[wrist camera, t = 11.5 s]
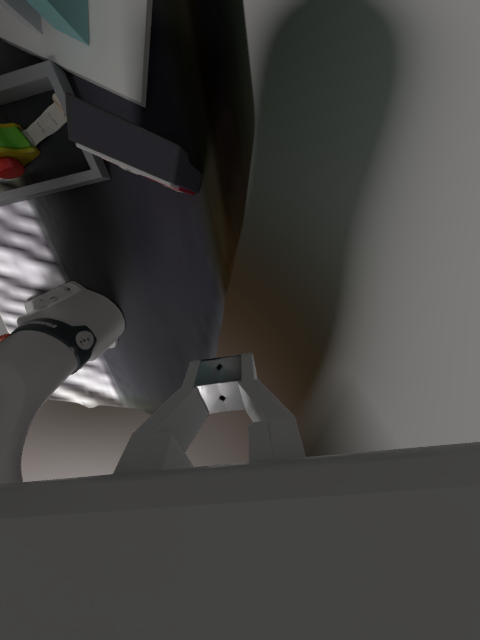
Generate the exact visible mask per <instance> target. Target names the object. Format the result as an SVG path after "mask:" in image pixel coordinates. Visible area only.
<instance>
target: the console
mask: <svg viewBox="0 0 480 640" xmlns="http://www.w3.org/2000/svg"><path fill="white" fill-rule="evenodd" d="M87 4H88V32H89V46H88V45H86V44H84V43H82V42H80V41H78V40H76V39H74V38H72V37H70V36H68V35H66V34H64V33H62V32H60V31H58V30H56V29H55V28H54V27H52V26H51V25H50V24H49V23H48V22H47V21H46V20H45V19H44V18H43V17H42V16H41V15H40V14H39V13H38V12H37V11H36V10H35V9H34V8H33V7H32V6H31V5H30V4H29V3H28V2H27V1H26V0H0V38H1V39H2V40H4V41H5V42H7V43H8V44H10V45H12V46H14V47H16V48H19V49H21V50H23V51H25V52H27V53H29V54H31V55H34V56H36V57H38V58H40V59H42V60H44V61H47V60H50V61H51V62H53V63H54V64H55V65H57V66H58V67H59V68H61V69H63V70H66V71H68V72H70V73H72V74H74V75H76V76H78V77H80V78H83V79H85V80H87V81H89V82H91V83H93V84H95V85H98V86H100V87H102V88H104V89H106V90H108V91H110V92H112V93H115V94H117V95H119V96H121V97H123V98H125V99H127V100H129V101H132V102H134V103H136V104H138V105H140V106H142V107H144V108H146V94H147V79H148V64H149V49H150V34H151V19H152V4H153V0H87Z"/></svg>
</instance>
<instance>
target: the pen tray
mask: <svg viewBox="0 0 480 640" xmlns="http://www.w3.org/2000/svg"><path fill="white" fill-rule="evenodd" d="M53 89H54V91H55V93H56V95H57V97H58V100H59V102H60V104H61V106H62V108H63V110H64V112H65V115H66V117H67V114H66V100H65V93H66V92H67V93H69V94H72V95H74V96H75V94H74V92H73V90H72V87H71V85H70V83H69V80H68V78H67V76H66V74H65V72H64V71H63V70H62V69H60V68H59V67H58V66H57V65H55V64H54V63H53V62H51V61H50V60H47V61H44V62H41V63H38V64H35V65H32V66H29V67H25V68H22V69H19V70H16V71H13V72H10V73H7V74H4V75H0V106H1V105H4V104H7V103H10V102H14V101H17V100H20V99H24V98H27V97H30V96H34V95H37V94H40V93H44V92H47V91H50V90H53ZM82 151H83V153H84V155H85V157H86V160H87V162H88V164H89V166H90V168H91V170H87V171H84V172H80V173H76V174H72V175H68V176H64V177H60V178H56V179H52V180H48V181H44V182H40V183H36V184H32V185H28V186H24V187H20V188H16V189H12V190H8V191H4V192H0V206H3V205H7V204H12V203H16V202H20V201H24V200H28V199H32V198H36V197H40V196H44V195H48V194H52V193H56V192H61V191H65V190H69V189H73V188H77V187H81V186H85V185H89V184H93V183H97V182H101V181H105V180H110V179H111V178H110V175H109V173H108V171H107V168H106V166H105V164H104V161H103V159H102V158H101V157H99V156H97V155H94V154H92V153H90V152H87V151H85V150H83V149H82Z"/></svg>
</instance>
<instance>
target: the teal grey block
mask: <svg viewBox="0 0 480 640" xmlns="http://www.w3.org/2000/svg"><path fill="white" fill-rule="evenodd" d="M26 1H27V2H28V3H29V4H30V5H31V6H32V7H33V8H34V9H35V10H36V11H37V12H38V13H39V14H40V15H41V16H42V17H43V18H44V19H45V20H46V21H47V22H48V23H49V24H50V25H51V26H52V27H54V28H55V29H56V30H58V31H60V32H62V33H64V34H66V35H68V36H70V37H72V38H74V39H76V40H78V41H80V42H82V43H84V44H86V45H88V46H89V32H88V4H87V0H26Z"/></svg>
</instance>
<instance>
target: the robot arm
mask: <svg viewBox="0 0 480 640" xmlns="http://www.w3.org/2000/svg"><path fill="white" fill-rule="evenodd" d="M69 288H70V289H69ZM25 309H26V311H27V314H25V315H23V316H21V317H19V318H18V320H17V324H18V327H17V328H16V329H15V331H13V332H12V333H11V334H4V335H1V336H0V640H480V442H474V443H463V444H452V445H440V446H428V447H417V448H407V449H395V450H383V451H372V452H361V453H350V454H338V455H327V456H316V457H306V456H305V453H304V449H303V445H302V441H301V438H300V434H299V430H298V426H297V423H296V419H295V417H294V416H293V415H292V413H291V412H290V411H288V409H286V407H285V406H284V405H283V404H282V403H281V402H280V401H279V400H278V399H277V398H276V397H275V396H274V395H273V394H272V393H271V392H270V391H269V390H268V389H267V388H266V387H265V386H264V385H263V384H262V383H261V382H260V381H259V380H258V379H257V375H256V369H255V364H254V359H253V355H252V353H246V354H241V355H235V356H228V357H222V358H213V359H204V360H197V361H191V362H190V364H189V366H188V370H187V373H186V376H185V379H184V382H183V385H182V388H181V389H178V390H177V391H176V392H175V393H174V394H173V395H172V396H171V397H170V398H169V399H168V400H167V401H166V402H165V403H164V404H162V405H161V406H160V407H159V408H158V409H157V410H156V411H155V412H154V413H153V414H152V415H151V416H150V417H149V418H148V419H147V420H146V421H145V422H144V423H143V424H142V425H141V426H140V427H139V428H138V429H137V430H136V431H135V432H134V433H133V434H132V436H131V437H130V440H129V442H128V444H127V446H126V448H125V450H124V452H123V454H122V456H121V458H120V460H119V462H118V465H117V467H116V469H115V471H114V473H113V474H111V475H101V476H89V477H78V478H66V479H54V480H43V481H33V482H23V479H22V474H21V457H22V451H23V446H24V443H25V439H26V436H27V434H28V431H29V429H30V426H31V424H32V422H33V420H34V418H35V416H36V414H37V412H38V411H39V409H40V408H41V407H42V405H43V404H44V403H45V401H46V400H47V399H48V398H49V397H50V396H51V395H52V393H53V392H54V391H55V390H56V389H57V388H58V387H59V386H60V385H61V384H62V383H63V382H64V381H65V380H66V379H67V378H68V377H69V376H70V375H71V374H74V373H75V372H77V371H78V370H79V369H81V368H82V367H83V366H84V365H85V364H86V362H87V361H93V360H95V359H96V358H97V357H99V356H100V355H101V354H102V353H103V352H104V351H105V350H107V349H108V348H114V347H115V346H116V345H117V344H118V338H119V336H120V335H121V334H122V333H123V331H124V328H125V321H124V317H123V315H122V313H121V311H120V310H119V309H118V307H117V306H116V305H115V304H114V303H113V302H112V301H110V300H109V299H108V298H106V297H104V296H103V295H101V294H98V293H96V292H93V291H90V290H88V289H86V288H84V287H83V286H82V285H80V284H79V283H77V282H75V281H70V282H68V283H65V284H63V285H61V286H59V287H57V288H55V289H53V290H50V291H48V292H46V293H44V294H42V295H40V296H38V297H35V298H33V299H31V300H29V301H27V302H26V303H25ZM244 409H245V410H246V411H247V413H248V415H249V416H250V418H251V419H252V421H253V422H252V423H251V424H250V425H249V427H248V431H249V462H248V463H236V464H225V465H214V466H201V467H193V465H192V463H191V462H190V460H189V459H188V457H187V456H186V454H185V451H186V450H187V448H188V447H189V445H190V443H191V442H192V441H193V439H194V437H195V436H196V434H197V433H198V431H199V429H200V428H201V426H202V425H203V423H204V422H205V420H206V419H207V417H208V416H209V413H216V412H223V411H232V410H244Z"/></svg>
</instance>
